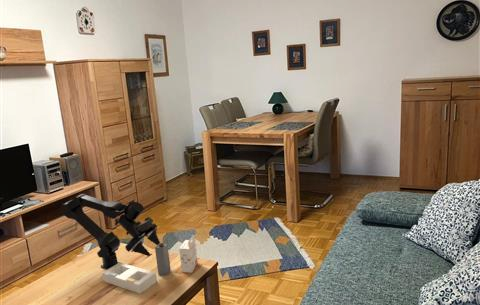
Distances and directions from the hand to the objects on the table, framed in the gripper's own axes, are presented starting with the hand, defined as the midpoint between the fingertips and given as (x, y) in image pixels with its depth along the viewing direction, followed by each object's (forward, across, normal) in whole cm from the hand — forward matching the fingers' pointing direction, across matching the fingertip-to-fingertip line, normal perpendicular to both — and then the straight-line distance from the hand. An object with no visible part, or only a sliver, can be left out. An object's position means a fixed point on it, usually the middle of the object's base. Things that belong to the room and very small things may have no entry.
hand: (155, 250), depth 173 cm
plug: (+10, 0, +5) cm, 11 cm away
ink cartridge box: (+17, +6, -2) cm, 18 cm away
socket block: (+2, -10, +13) cm, 16 cm away
